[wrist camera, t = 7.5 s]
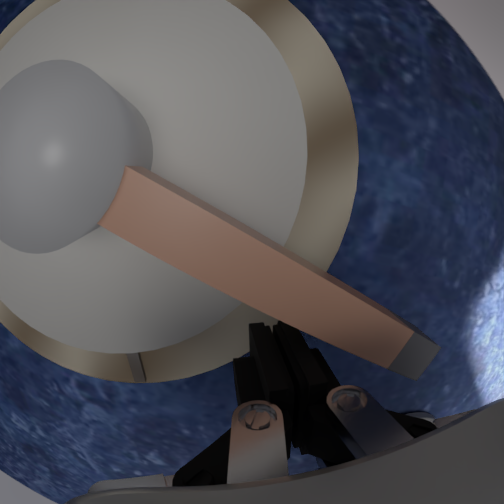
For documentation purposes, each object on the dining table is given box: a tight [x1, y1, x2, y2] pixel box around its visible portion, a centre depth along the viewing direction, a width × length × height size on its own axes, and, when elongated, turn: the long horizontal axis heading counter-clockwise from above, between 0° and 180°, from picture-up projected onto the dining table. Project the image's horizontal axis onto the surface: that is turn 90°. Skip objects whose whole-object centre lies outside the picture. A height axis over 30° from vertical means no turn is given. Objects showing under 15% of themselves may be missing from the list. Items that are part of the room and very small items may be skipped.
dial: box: [0, 0, 441, 381], centre depth 9 cm, size 22×16×6 cm
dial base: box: [0, 0, 359, 383], centre depth 12 cm, size 22×22×2 cm
